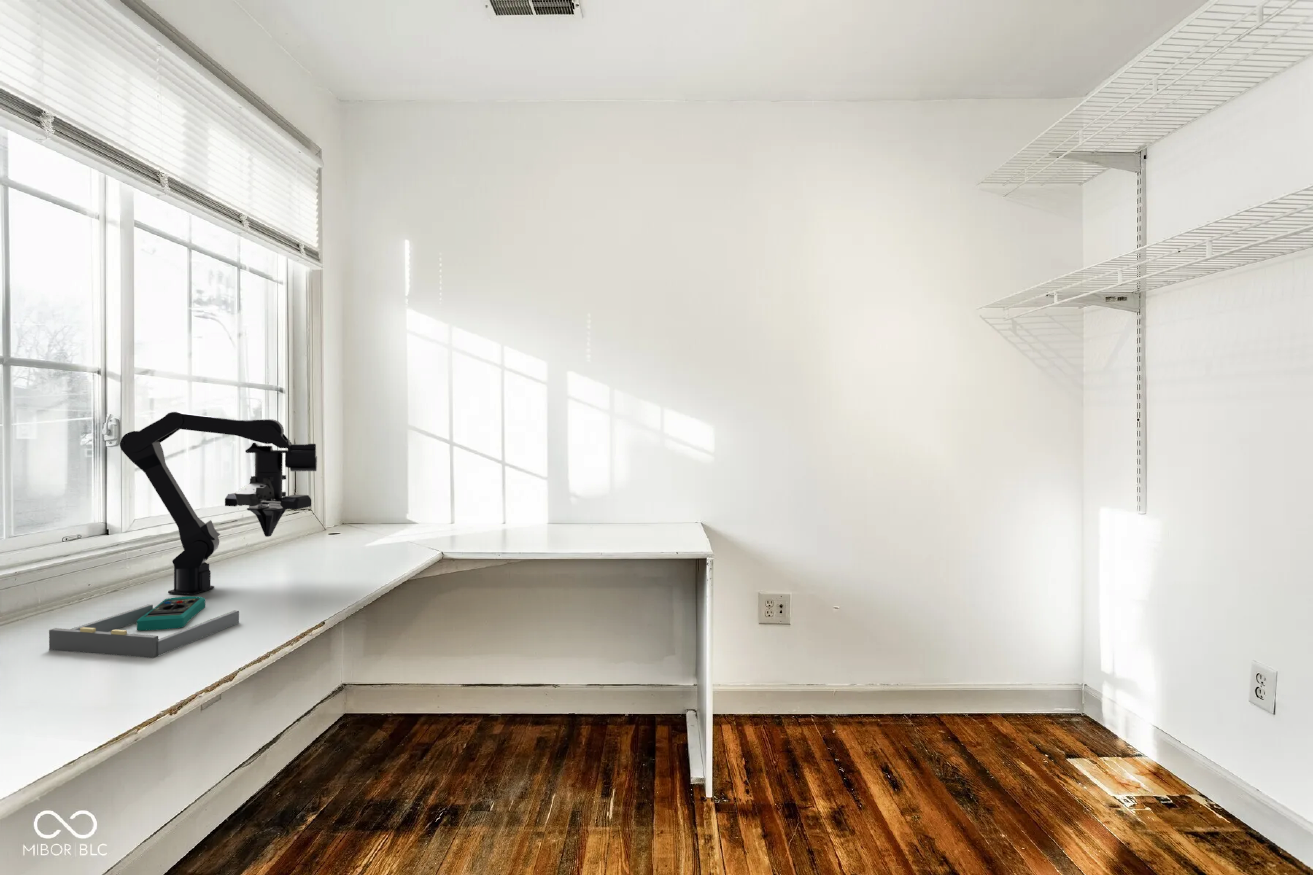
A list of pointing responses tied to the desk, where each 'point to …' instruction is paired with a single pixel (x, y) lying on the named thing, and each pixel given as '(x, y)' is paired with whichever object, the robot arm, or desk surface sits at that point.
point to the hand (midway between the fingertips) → (268, 536)
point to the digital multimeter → (171, 613)
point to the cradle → (132, 635)
